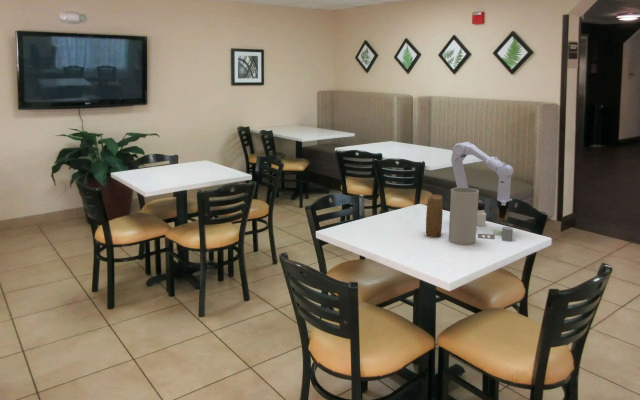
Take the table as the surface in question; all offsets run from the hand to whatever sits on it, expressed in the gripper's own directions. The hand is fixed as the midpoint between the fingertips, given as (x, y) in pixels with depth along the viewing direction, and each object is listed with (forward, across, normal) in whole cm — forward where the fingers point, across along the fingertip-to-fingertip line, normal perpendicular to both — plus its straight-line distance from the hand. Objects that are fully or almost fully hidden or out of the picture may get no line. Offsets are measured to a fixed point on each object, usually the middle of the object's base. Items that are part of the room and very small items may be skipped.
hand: (502, 216), depth 266 cm
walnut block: (+2, 0, 0) cm, 2 cm away
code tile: (+9, -8, +7) cm, 14 cm away
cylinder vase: (+9, -19, +18) cm, 28 cm away
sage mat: (+9, 0, 0) cm, 9 cm away
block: (+9, -11, +32) cm, 35 cm away
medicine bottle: (+9, +14, +12) cm, 21 cm away
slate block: (+9, -10, -2) cm, 14 cm away
